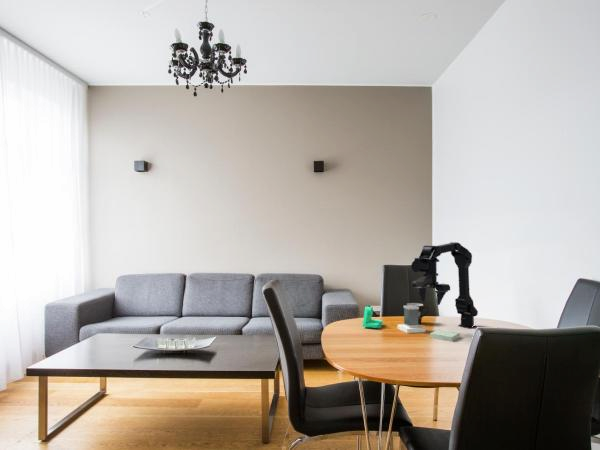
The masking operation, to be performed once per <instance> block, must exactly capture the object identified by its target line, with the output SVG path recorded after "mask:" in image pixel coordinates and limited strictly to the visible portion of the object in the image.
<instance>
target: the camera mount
mask: <svg viewBox="0 0 600 450" xmlns="http://www.w3.org/2000/svg"><path fill="white" fill-rule="evenodd" d="M373 313H374V309H373V306H365V308H364V313H363V314H364V315H363V319H362V327H365V328H374V329H380V328H381V327H382V325H383V320H382V319H373V318H372V316H373V315H374V314H373Z"/></svg>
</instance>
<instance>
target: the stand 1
mask: <svg viewBox="0 0 600 450" xmlns="http://www.w3.org/2000/svg"><path fill="white" fill-rule="evenodd" d="M418 325H419V327H414V328H408V327H406V326H404V323H400V324H397V325H396V327H397V329H398V330H400V331H401V332H403V333H406V334H414V333H416V334H417V333H418V334H419V333H426V332H427V330H426V327H425V326H422V325H421V324H418Z"/></svg>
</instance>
